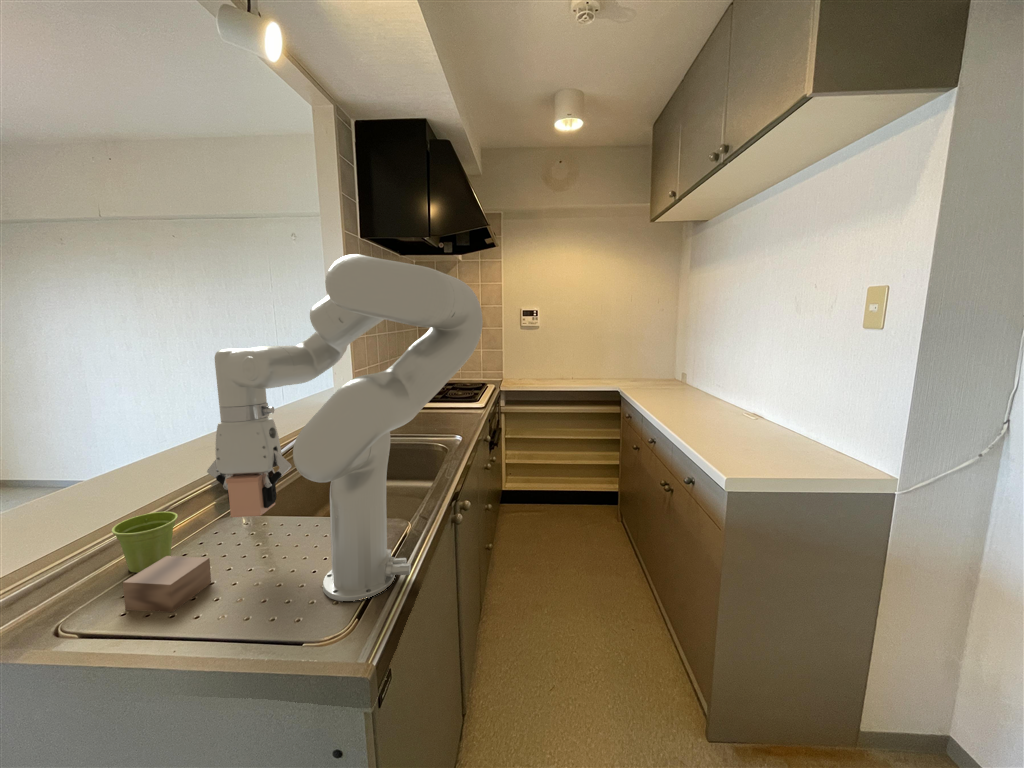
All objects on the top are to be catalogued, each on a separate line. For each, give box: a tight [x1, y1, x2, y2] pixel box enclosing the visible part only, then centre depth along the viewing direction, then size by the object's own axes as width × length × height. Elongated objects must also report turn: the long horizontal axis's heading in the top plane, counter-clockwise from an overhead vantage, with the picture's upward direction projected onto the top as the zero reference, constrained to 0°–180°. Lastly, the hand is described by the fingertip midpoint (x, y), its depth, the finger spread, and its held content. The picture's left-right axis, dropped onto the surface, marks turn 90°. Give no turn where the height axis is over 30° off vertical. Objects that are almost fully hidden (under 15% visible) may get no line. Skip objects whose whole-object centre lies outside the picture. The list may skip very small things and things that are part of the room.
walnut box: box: [122, 555, 212, 613], centre depth 70 cm, size 8×8×5 cm
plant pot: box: [111, 511, 179, 573], centre depth 79 cm, size 9×9×9 cm
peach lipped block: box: [226, 473, 276, 518], centre depth 79 cm, size 6×6×7 cm
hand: (253, 505), depth 79 cm, fingers closed on peach lipped block, 5 cm apart
